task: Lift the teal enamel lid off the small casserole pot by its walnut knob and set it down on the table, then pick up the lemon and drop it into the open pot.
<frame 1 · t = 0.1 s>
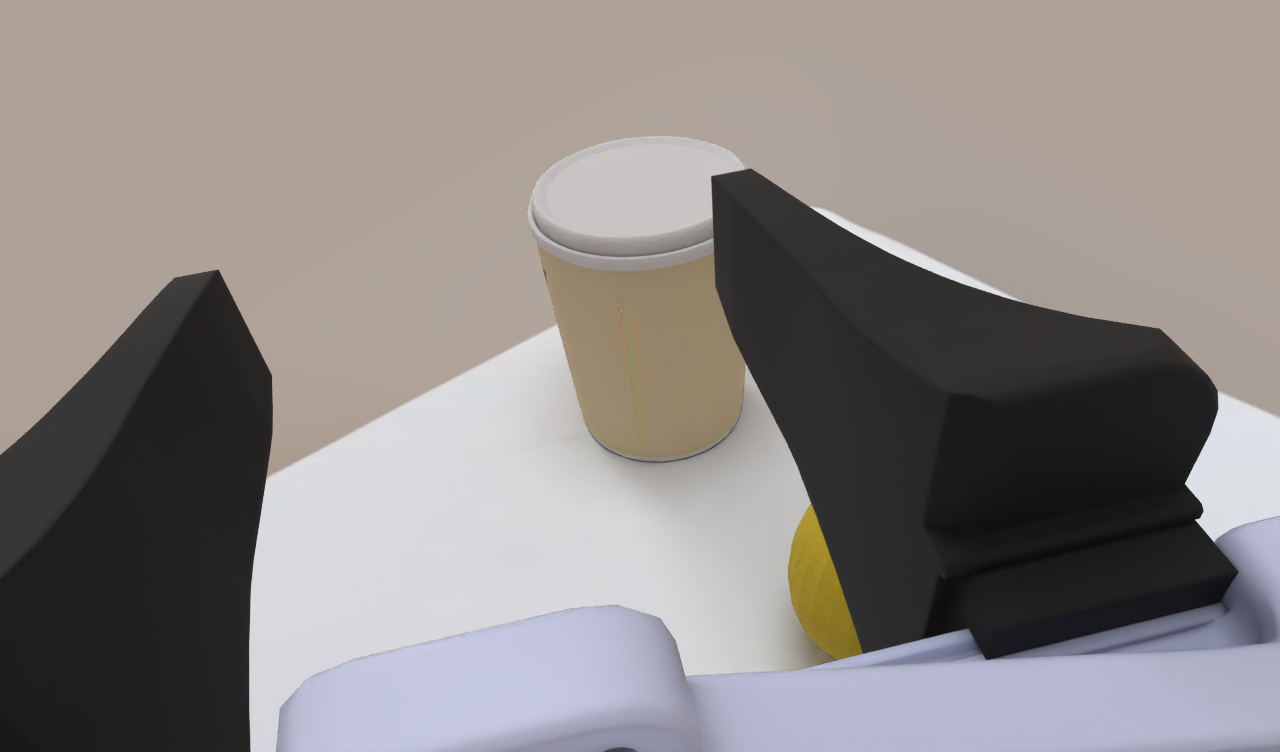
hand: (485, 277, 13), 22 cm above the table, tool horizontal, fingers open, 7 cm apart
lemon: (864, 647, 33), on the table
coffee cup: (662, 409, 44), on the table
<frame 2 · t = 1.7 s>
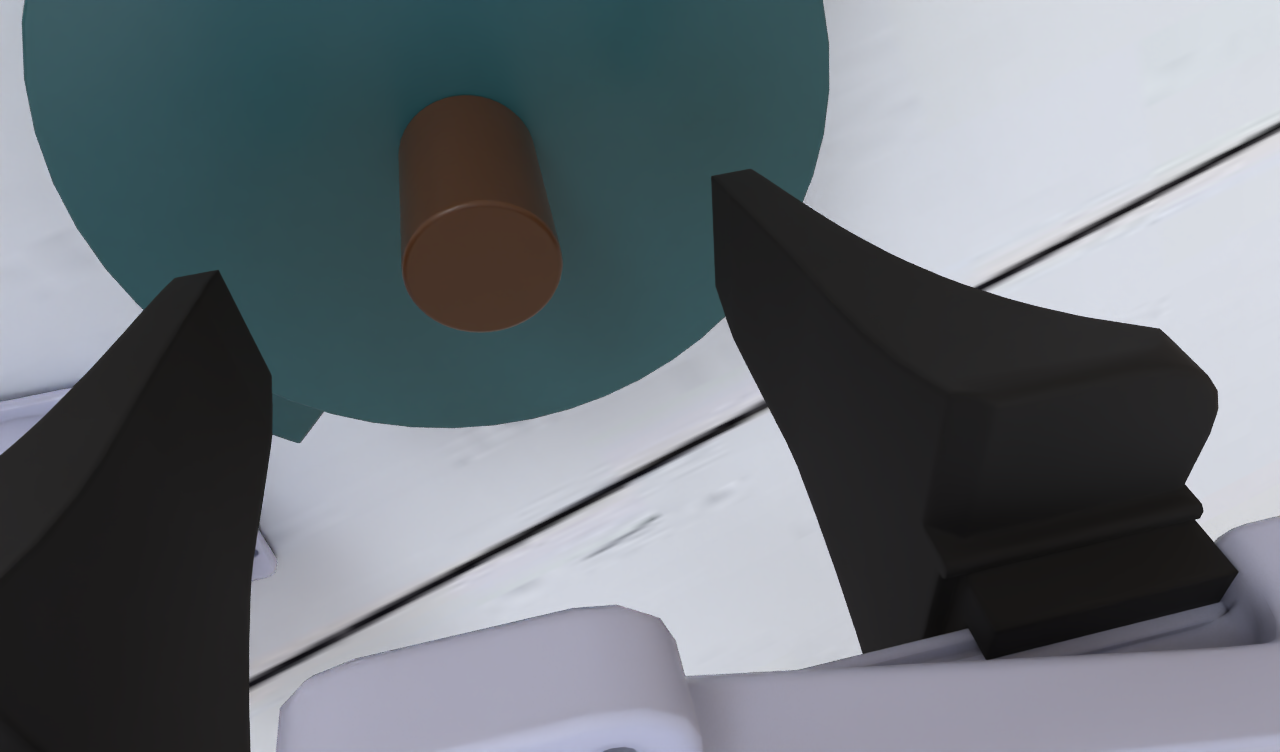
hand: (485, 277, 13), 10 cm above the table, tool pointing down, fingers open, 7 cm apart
lid: (465, 143, 16), point 6 cm above the table, touching pot
pot: (448, 22, 21), on the table
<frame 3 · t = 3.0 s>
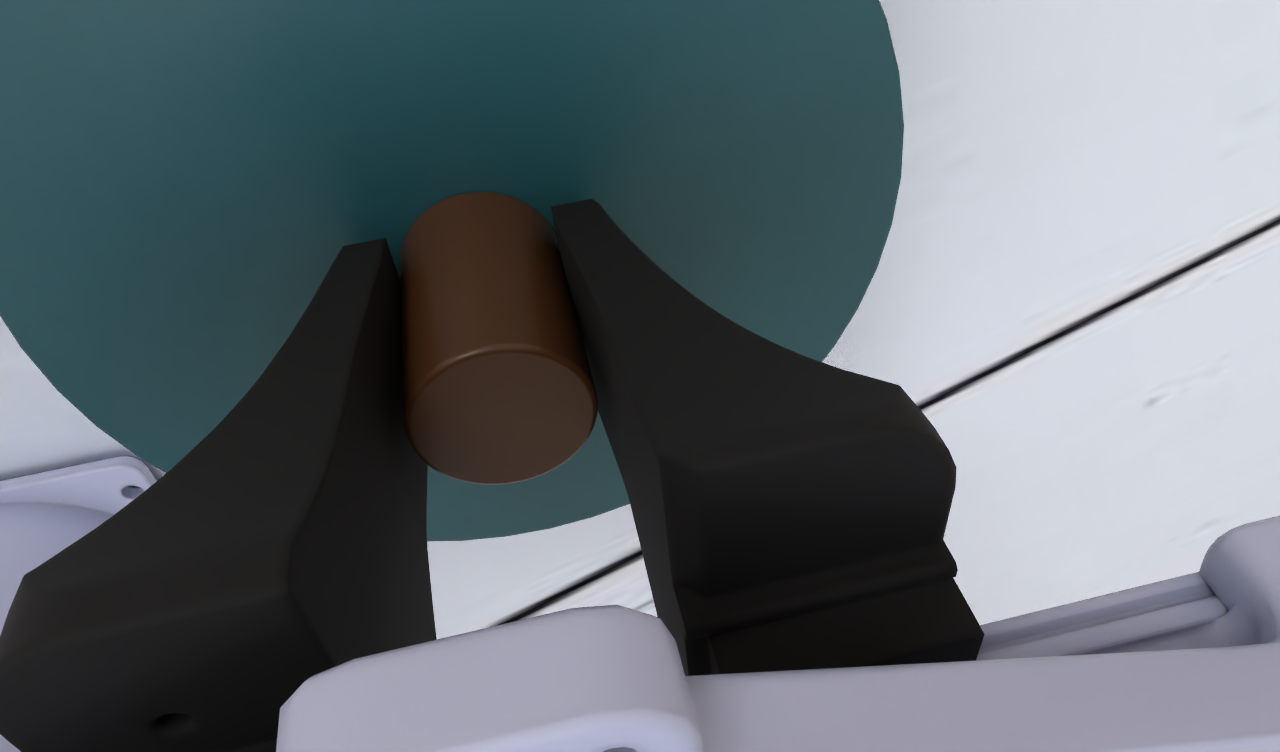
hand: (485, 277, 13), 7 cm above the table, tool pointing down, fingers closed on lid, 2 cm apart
lid: (478, 240, 14), point 6 cm above the table, touching gripper, pot
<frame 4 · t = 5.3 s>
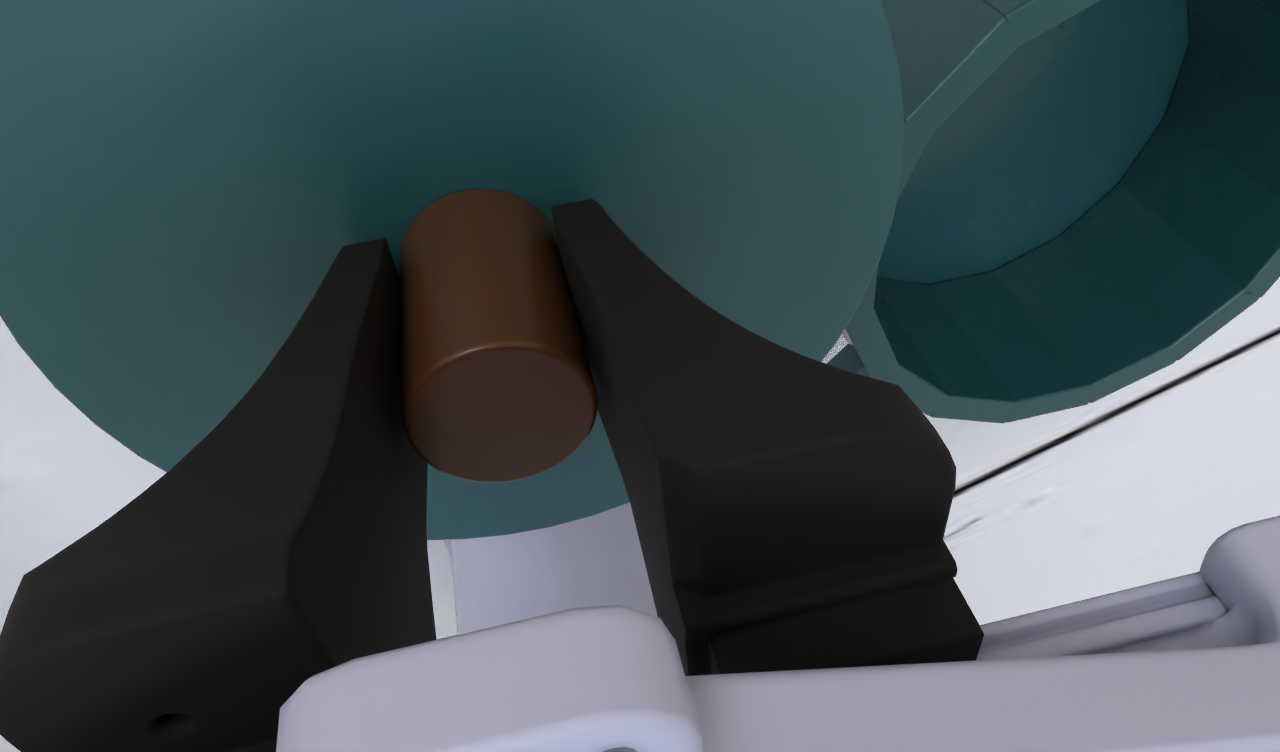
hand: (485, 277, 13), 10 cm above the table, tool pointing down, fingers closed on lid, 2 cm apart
lid: (478, 238, 14), point 9 cm above the table, touching gripper
pot: (981, 107, 25), on the table
when the fingers open (2 cm above the table, at t = 7.5 s): lid stays where it is, point 1 cm above the table.
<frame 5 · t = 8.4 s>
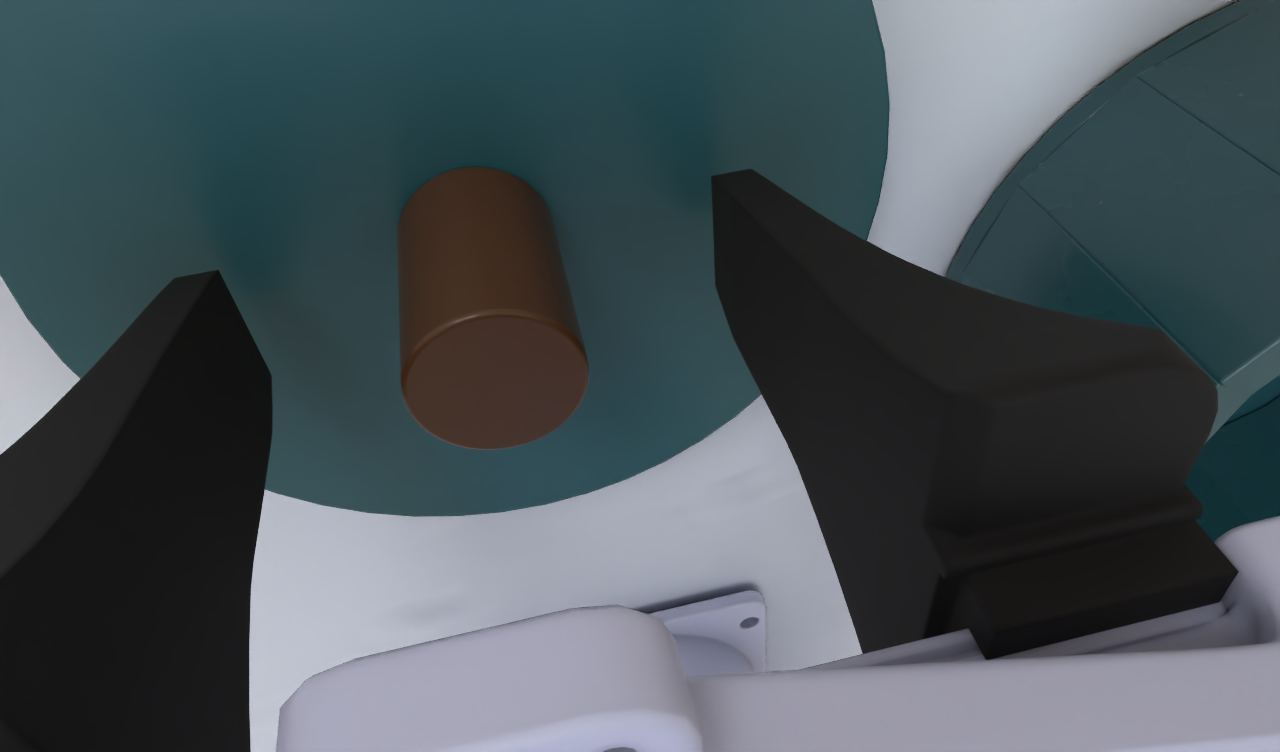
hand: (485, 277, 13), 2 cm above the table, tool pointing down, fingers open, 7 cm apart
lid: (474, 216, 14), point 1 cm above the table
pot: (1200, 269, 20), on the table
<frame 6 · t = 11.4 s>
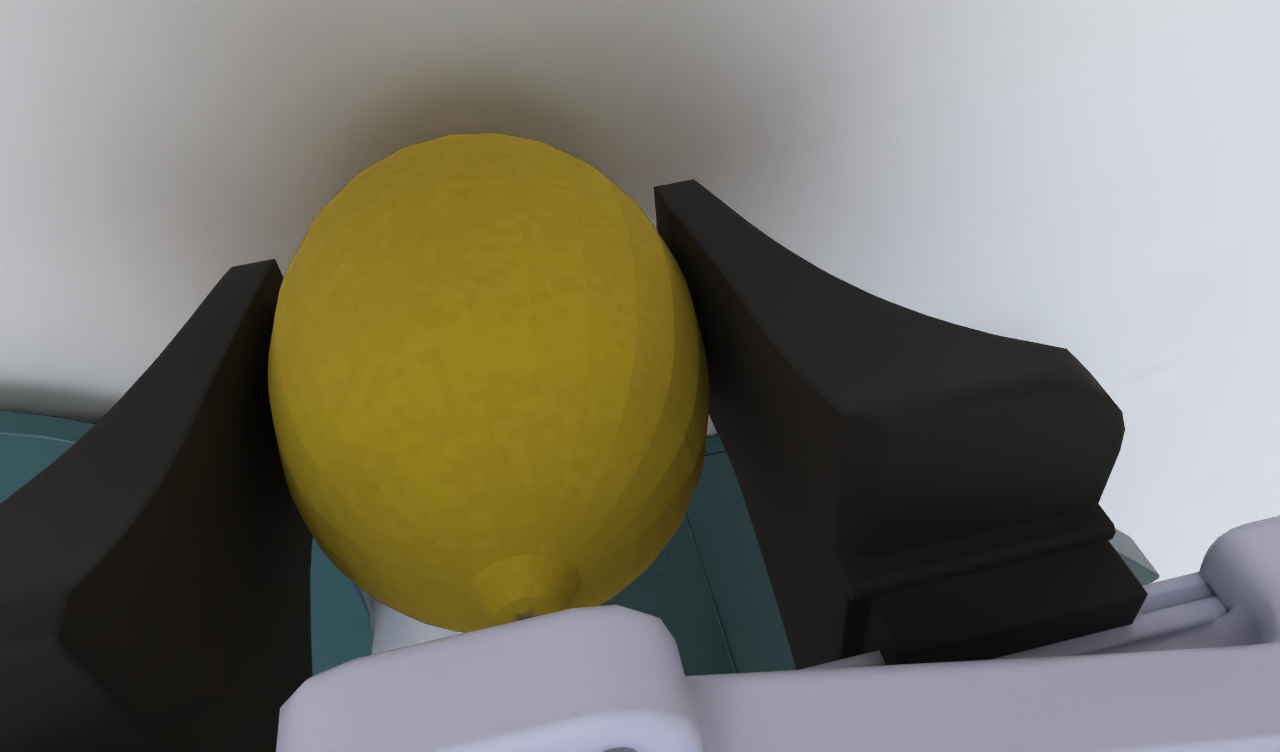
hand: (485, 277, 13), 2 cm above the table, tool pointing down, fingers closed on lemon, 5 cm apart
lemon: (471, 201, 15), on the table, touching gripper
lid: (34, 645, 19), point 1 cm above the table
pot: (726, 594, 24), on the table
when the fingers open (3 cm above the table, at t = 16.7 s): lemon stays where it is, resting on pot.
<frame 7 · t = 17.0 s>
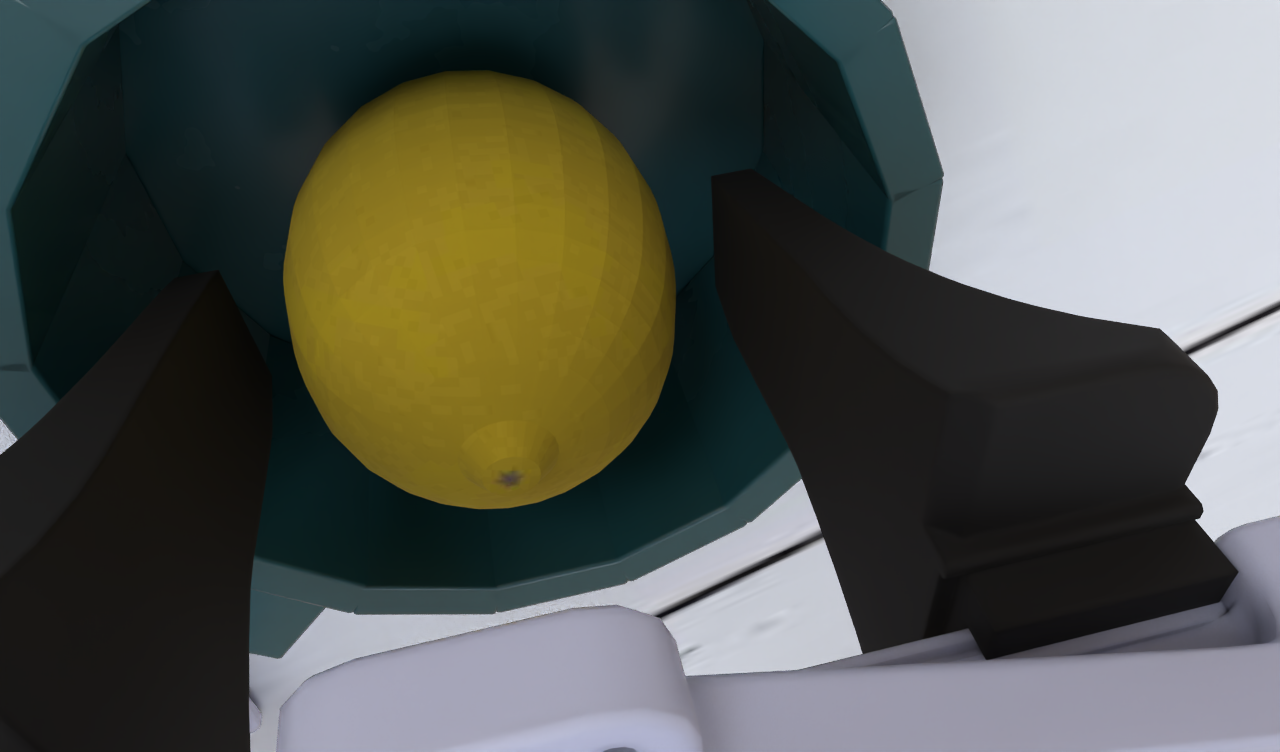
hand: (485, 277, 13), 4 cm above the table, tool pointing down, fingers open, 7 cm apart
lemon: (465, 144, 16), resting on pot
pot: (466, 137, 17), on the table
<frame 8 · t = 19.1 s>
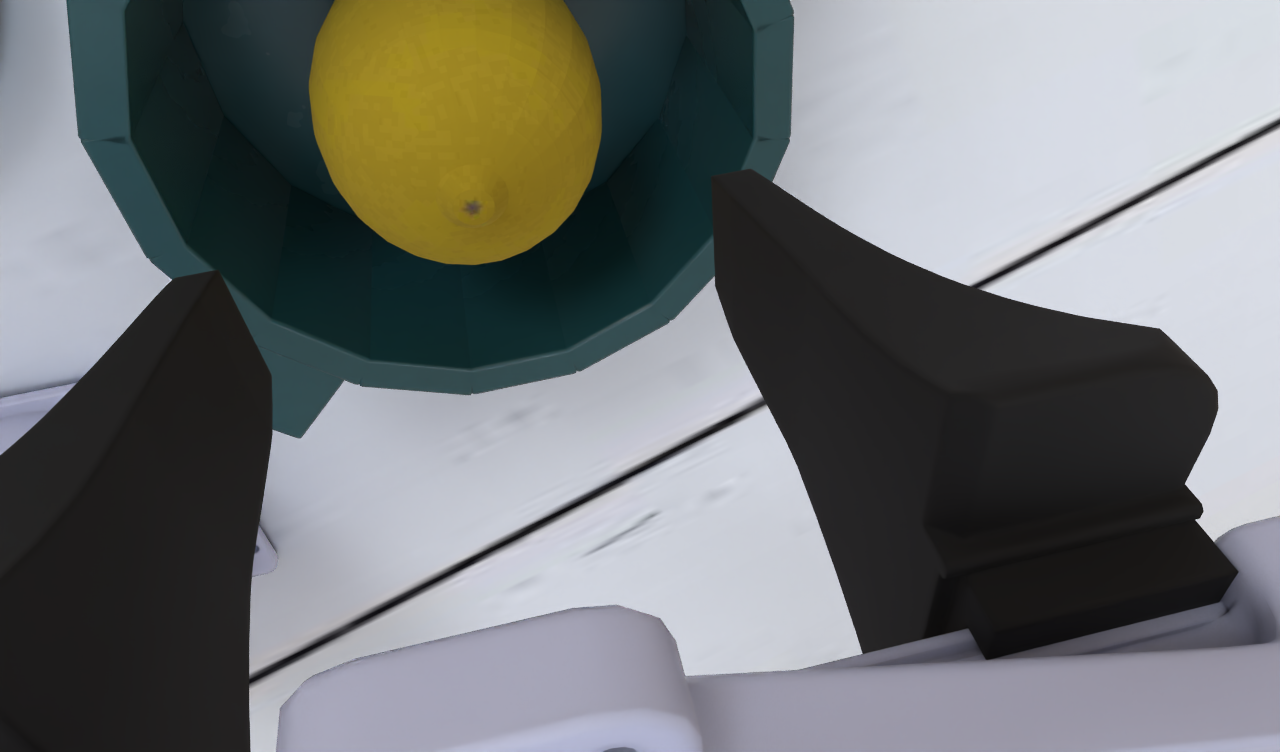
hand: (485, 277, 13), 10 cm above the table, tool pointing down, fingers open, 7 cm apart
lemon: (447, 23, 21), resting on pot
pot: (448, 19, 21), on the table
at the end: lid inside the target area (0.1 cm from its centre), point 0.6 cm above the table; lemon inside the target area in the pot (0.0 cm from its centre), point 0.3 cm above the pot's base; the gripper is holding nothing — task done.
